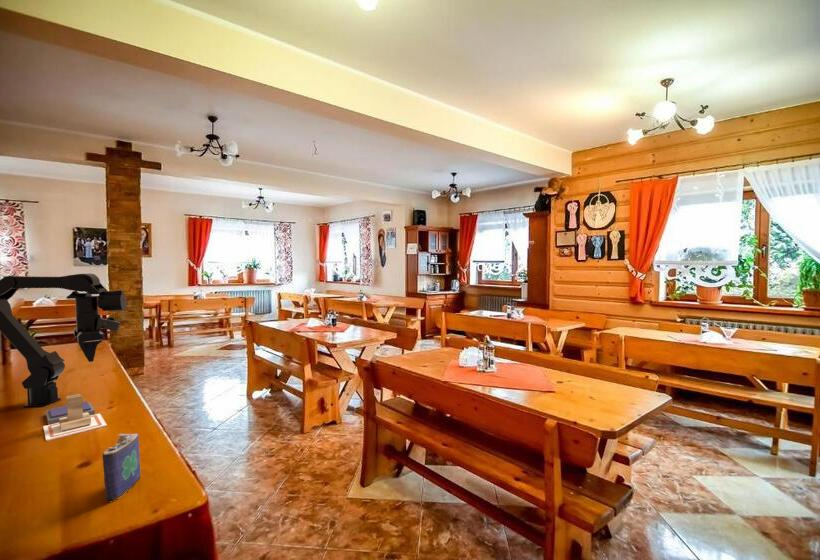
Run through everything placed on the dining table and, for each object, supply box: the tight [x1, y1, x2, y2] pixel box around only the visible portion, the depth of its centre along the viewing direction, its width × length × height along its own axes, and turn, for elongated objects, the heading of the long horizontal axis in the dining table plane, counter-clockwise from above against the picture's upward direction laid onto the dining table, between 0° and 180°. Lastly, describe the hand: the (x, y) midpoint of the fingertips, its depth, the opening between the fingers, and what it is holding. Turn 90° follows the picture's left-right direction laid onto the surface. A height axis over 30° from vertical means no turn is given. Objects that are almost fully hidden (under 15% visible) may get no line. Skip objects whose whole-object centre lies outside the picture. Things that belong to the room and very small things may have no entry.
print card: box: [42, 413, 108, 442], centre depth 104 cm, size 12×12×1 cm
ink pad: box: [45, 401, 96, 425], centre depth 113 cm, size 10×10×2 cm
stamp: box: [59, 393, 91, 432], centre depth 104 cm, size 6×6×8 cm
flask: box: [101, 433, 142, 503], centre depth 75 cm, size 9×3×11 cm, turn 8°
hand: (89, 359), depth 126 cm, fingers open, 9 cm apart
